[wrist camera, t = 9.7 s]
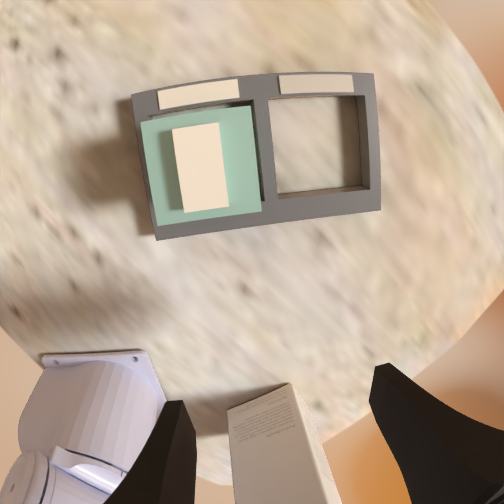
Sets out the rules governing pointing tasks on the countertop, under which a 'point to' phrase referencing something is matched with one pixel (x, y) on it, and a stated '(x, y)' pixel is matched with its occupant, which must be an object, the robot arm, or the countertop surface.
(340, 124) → the countertop surface
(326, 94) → the dock
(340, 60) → the countertop surface
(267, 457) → the skincare box
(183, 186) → the plug
